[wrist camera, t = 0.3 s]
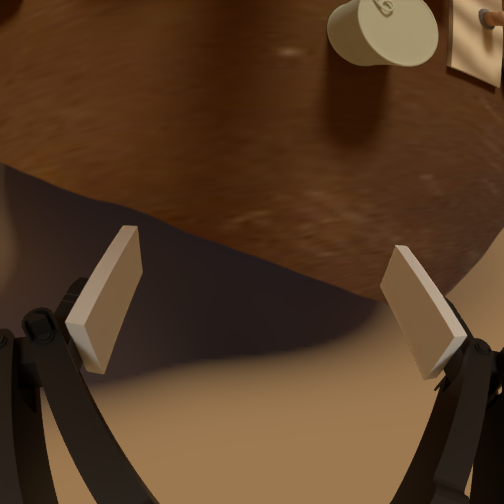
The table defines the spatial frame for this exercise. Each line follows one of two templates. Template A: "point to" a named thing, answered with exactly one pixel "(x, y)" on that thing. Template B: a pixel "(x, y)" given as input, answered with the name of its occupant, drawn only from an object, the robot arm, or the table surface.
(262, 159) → the table surface
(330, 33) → the can
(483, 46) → the flat beige board
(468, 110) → the table surface
